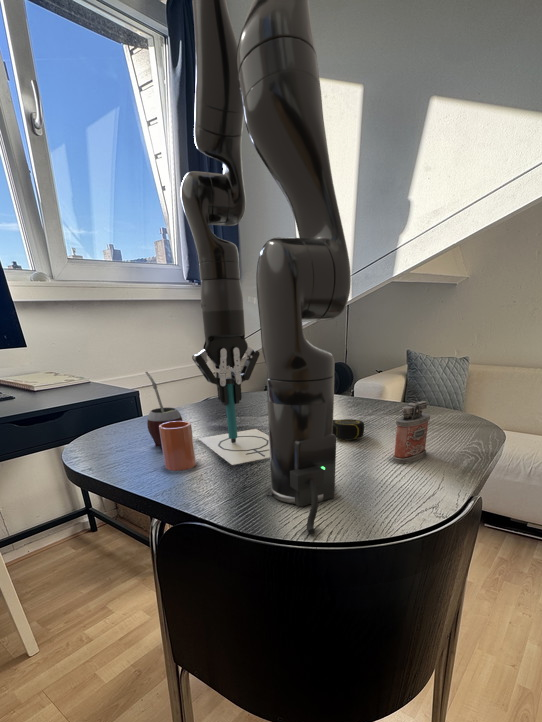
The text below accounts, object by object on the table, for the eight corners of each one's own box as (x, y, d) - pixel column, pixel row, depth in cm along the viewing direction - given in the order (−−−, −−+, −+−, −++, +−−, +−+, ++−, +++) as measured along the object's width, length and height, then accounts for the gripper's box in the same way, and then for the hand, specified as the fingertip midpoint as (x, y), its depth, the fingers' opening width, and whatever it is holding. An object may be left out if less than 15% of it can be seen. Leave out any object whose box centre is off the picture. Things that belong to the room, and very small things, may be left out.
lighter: (404, 464, 72) (409, 408, 68) (388, 460, 75) (392, 405, 70) (429, 454, 77) (436, 400, 73) (414, 450, 79) (419, 398, 75)
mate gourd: (178, 454, 82) (167, 376, 75) (141, 453, 83) (128, 376, 77) (191, 443, 88) (182, 371, 82) (157, 442, 90) (146, 371, 83)
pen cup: (199, 469, 73) (194, 425, 70) (170, 475, 71) (163, 430, 68) (191, 460, 78) (185, 419, 74) (162, 466, 76) (155, 423, 72)
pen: (239, 442, 85) (234, 378, 80) (231, 444, 84) (225, 379, 79) (236, 440, 86) (230, 377, 81) (227, 442, 86) (221, 378, 80)
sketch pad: (299, 453, 80) (299, 450, 79) (232, 467, 74) (231, 464, 73) (255, 430, 96) (255, 428, 95) (198, 440, 90) (197, 437, 90)
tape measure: (361, 433, 91) (362, 417, 89) (365, 442, 85) (366, 425, 83) (330, 434, 91) (330, 417, 90) (332, 443, 85) (332, 425, 83)
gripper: (192, 309, 69) (203, 412, 76) (265, 307, 75) (269, 402, 82) (180, 310, 75) (191, 405, 82) (248, 308, 81) (253, 397, 88)
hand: (230, 403), depth 82 cm, fingers closed on pen, 2 cm apart
